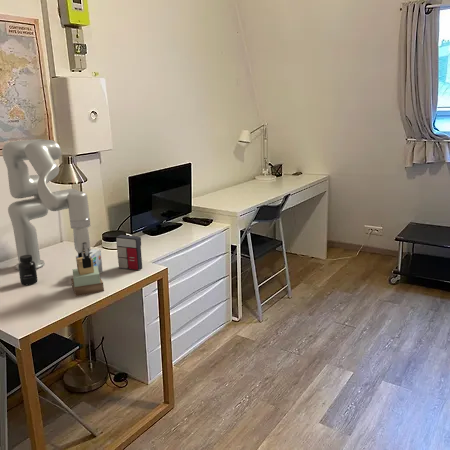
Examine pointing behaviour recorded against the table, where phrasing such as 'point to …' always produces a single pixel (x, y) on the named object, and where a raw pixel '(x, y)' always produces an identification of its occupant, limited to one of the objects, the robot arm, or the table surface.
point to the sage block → (86, 278)
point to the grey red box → (129, 252)
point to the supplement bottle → (27, 270)
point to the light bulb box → (96, 258)
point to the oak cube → (84, 270)
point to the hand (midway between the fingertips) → (85, 263)
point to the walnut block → (87, 288)
